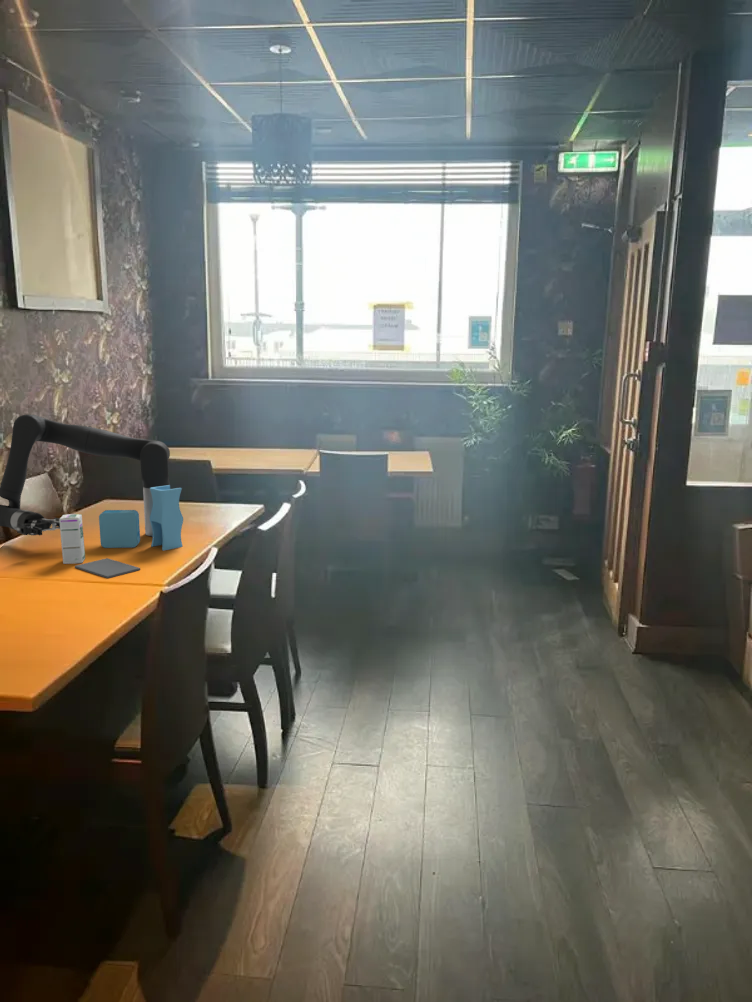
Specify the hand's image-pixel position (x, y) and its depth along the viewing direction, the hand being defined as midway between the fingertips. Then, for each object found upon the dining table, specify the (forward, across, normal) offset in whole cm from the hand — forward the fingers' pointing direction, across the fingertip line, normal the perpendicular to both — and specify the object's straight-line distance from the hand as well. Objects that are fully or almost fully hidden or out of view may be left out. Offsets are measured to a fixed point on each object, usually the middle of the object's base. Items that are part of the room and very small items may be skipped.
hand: (54, 529), depth 233 cm
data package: (+5, +20, +9) cm, 22 cm away
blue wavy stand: (+18, +30, +9) cm, 36 cm away
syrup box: (+10, 0, +9) cm, 14 cm away
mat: (+26, +2, +8) cm, 27 cm away
